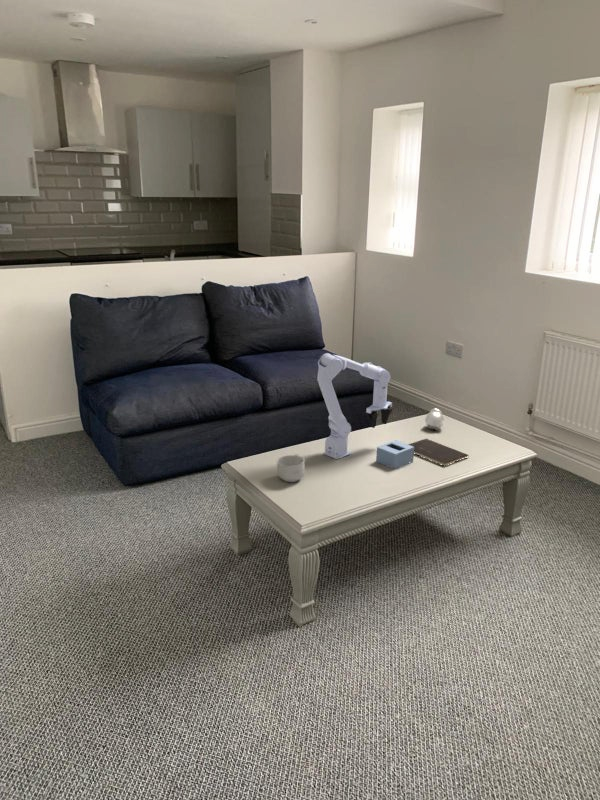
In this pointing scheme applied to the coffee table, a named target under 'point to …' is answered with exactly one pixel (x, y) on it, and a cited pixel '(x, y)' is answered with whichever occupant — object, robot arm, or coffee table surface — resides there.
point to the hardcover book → (437, 452)
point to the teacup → (291, 467)
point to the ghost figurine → (434, 419)
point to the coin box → (395, 454)
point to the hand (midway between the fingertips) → (378, 425)
